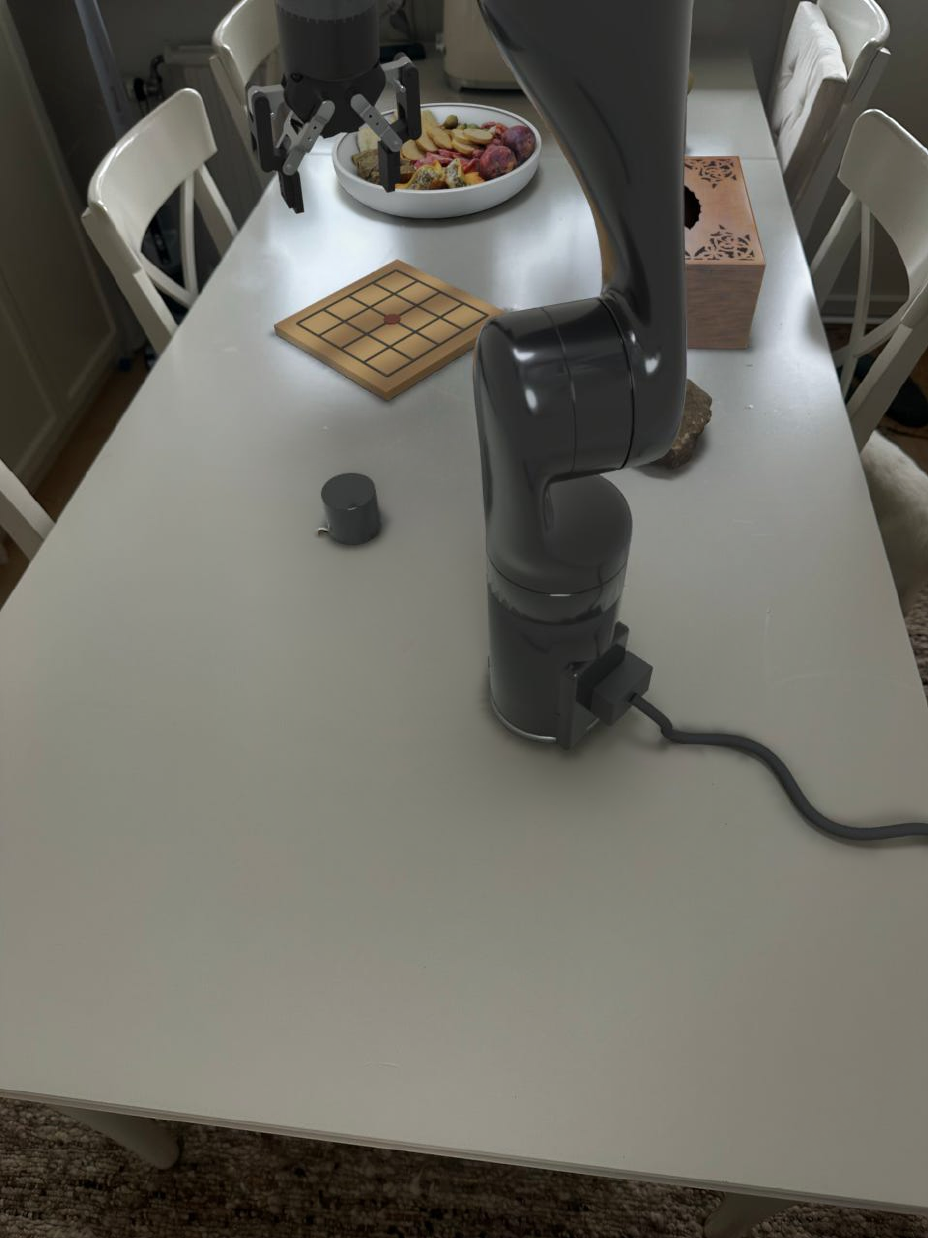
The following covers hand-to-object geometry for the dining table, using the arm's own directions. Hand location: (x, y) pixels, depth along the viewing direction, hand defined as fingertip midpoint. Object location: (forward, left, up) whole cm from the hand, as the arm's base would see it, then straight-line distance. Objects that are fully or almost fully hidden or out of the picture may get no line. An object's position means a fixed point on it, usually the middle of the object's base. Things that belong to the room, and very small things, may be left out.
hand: (342, 197), depth 77 cm
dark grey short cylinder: (-13, +14, -22) cm, 29 cm away
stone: (-24, -14, -22) cm, 36 cm away
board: (+9, -11, -22) cm, 27 cm away
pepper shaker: (+13, -70, -22) cm, 75 cm away
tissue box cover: (-10, -40, -22) cm, 47 cm away
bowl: (+33, -42, -22) cm, 58 cm away
